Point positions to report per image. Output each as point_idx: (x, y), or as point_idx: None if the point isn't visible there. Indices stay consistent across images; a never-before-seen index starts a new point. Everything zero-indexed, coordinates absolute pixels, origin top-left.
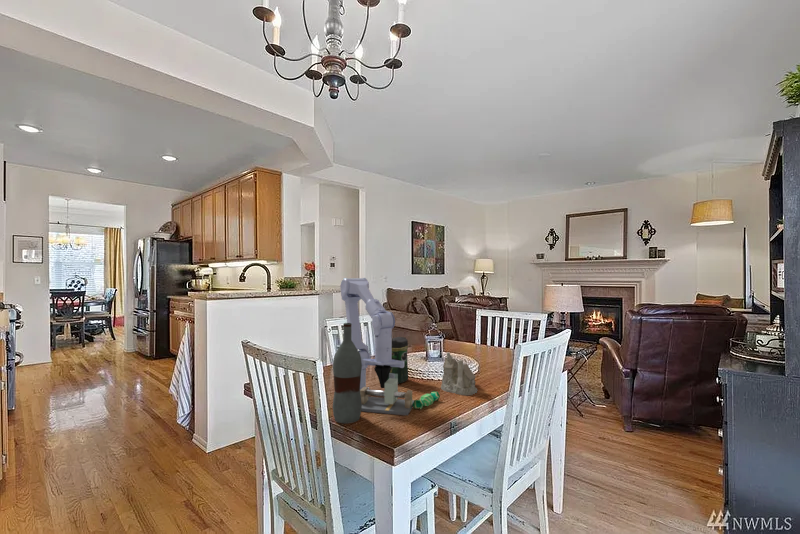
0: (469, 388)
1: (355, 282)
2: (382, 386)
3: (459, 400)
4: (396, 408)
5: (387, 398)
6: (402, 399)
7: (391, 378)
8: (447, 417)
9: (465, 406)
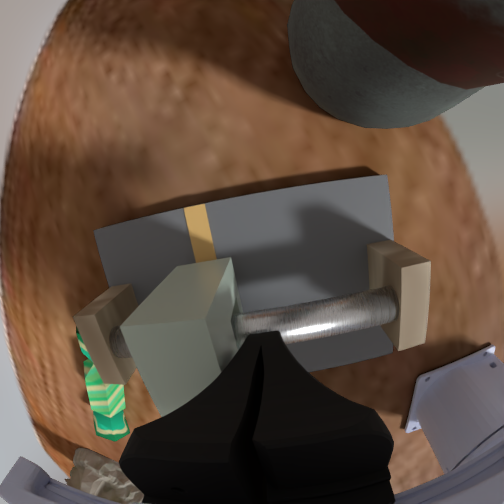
0: (75, 463)
1: None
2: (260, 336)
3: (67, 417)
4: (162, 259)
5: (205, 271)
6: None
7: None
8: (10, 275)
9: (30, 376)
